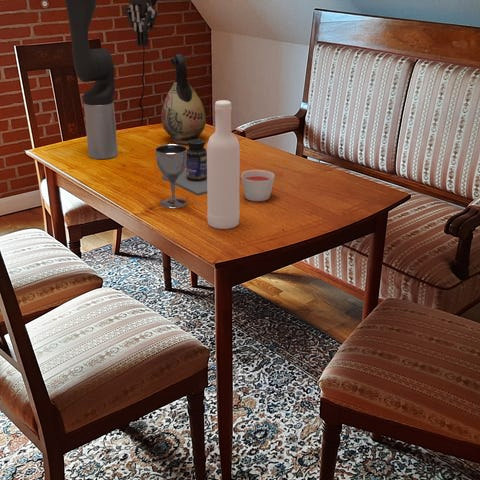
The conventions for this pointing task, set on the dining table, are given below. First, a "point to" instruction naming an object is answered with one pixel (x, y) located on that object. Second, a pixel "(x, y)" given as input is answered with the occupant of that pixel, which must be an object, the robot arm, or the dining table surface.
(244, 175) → the candle
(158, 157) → the wine glass
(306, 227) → the dining table surface
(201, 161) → the pill bottle
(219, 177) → the bottle
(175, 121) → the ceramic jug
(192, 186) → the place mat
